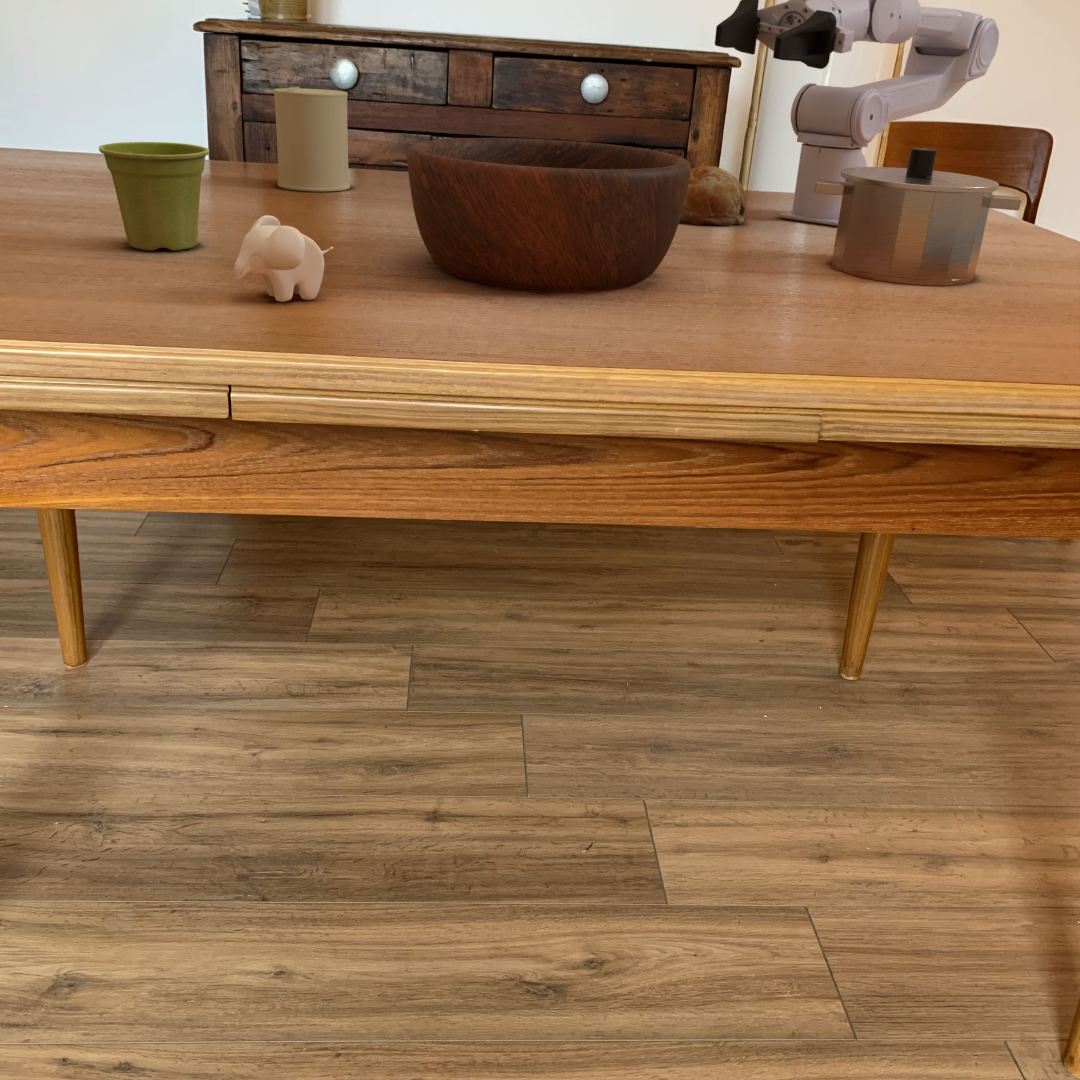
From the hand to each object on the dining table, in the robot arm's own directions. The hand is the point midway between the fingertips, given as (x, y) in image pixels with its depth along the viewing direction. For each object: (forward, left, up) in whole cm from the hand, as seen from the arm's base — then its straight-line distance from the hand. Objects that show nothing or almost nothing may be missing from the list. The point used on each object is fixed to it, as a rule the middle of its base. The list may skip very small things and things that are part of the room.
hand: (746, 41), depth 116 cm
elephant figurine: (+58, -9, -20) cm, 62 cm away
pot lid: (+5, +22, -11) cm, 26 cm away
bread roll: (-7, -7, -20) cm, 22 cm away
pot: (+5, +22, -20) cm, 30 cm away
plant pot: (+52, -32, -20) cm, 64 cm away
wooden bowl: (+33, -2, -20) cm, 39 cm away
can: (+13, -53, -20) cm, 58 cm away
